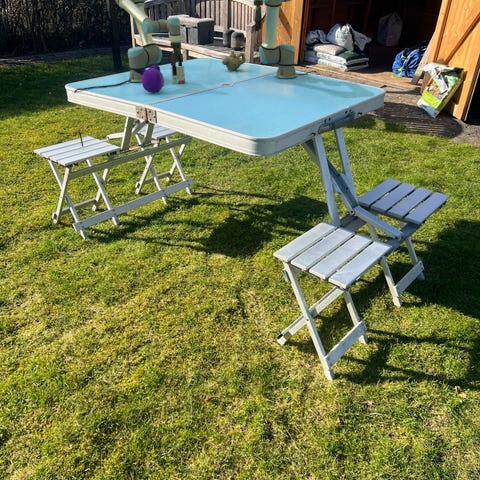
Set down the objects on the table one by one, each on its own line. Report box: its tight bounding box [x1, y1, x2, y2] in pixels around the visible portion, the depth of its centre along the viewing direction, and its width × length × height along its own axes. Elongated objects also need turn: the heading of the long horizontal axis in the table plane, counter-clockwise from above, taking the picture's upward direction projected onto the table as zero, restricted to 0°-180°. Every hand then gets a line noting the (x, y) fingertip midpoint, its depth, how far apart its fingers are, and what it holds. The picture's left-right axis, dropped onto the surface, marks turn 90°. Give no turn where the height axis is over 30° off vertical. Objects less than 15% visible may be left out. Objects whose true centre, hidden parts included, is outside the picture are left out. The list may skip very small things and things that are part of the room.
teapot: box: [221, 50, 246, 72], centre depth 367 cm, size 21×12×15 cm, turn 120°
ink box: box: [170, 65, 186, 85], centre depth 327 cm, size 9×5×12 cm, turn 79°
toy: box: [134, 64, 165, 94], centre depth 304 cm, size 16×18×27 cm
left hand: (177, 73), depth 327 cm, fingers open, 13 cm apart
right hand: (258, 30), depth 357 cm, fingers open, 13 cm apart
